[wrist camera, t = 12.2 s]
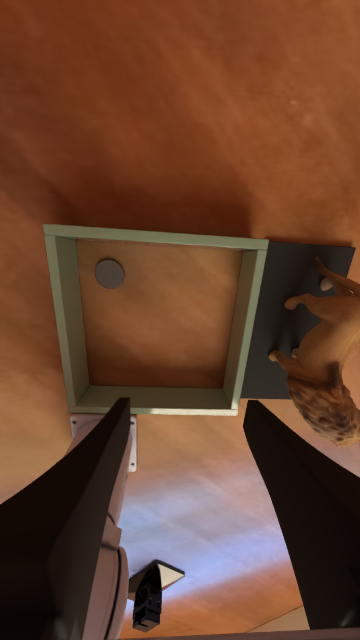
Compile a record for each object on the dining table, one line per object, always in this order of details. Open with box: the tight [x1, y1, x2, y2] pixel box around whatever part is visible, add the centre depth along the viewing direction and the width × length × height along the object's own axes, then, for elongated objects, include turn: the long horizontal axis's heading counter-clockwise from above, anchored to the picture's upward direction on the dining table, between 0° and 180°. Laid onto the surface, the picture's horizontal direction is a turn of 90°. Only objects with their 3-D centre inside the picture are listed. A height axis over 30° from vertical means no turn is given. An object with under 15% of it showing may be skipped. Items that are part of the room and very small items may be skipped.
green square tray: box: [43, 223, 269, 416], centre depth 19 cm, size 18×18×4 cm
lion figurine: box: [268, 258, 360, 447], centre depth 17 cm, size 15×5×9 cm, turn 178°
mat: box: [240, 241, 356, 399], centre depth 21 cm, size 18×9×1 cm, turn 177°
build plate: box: [127, 560, 185, 632], centre depth 34 cm, size 12×7×5 cm, turn 138°
